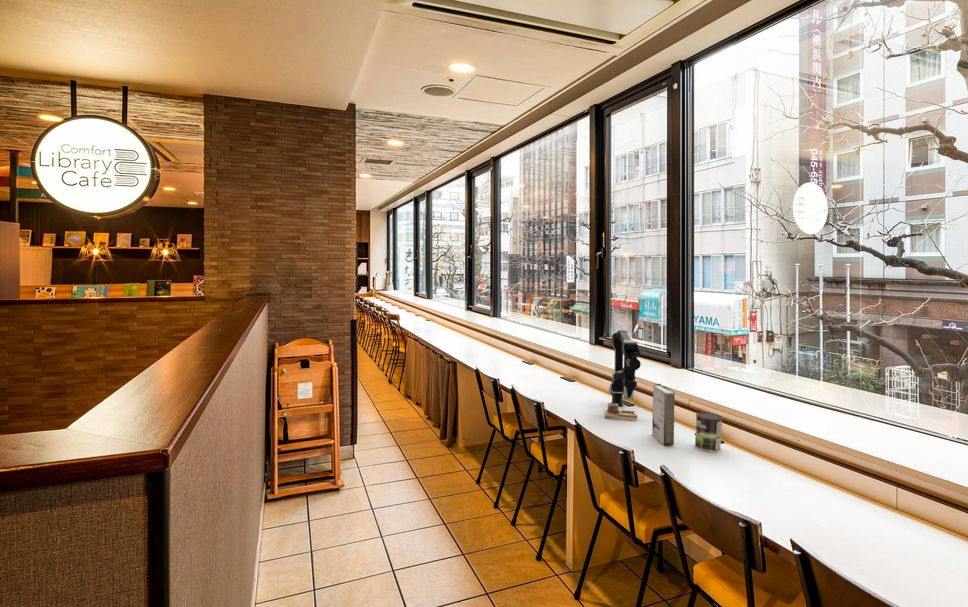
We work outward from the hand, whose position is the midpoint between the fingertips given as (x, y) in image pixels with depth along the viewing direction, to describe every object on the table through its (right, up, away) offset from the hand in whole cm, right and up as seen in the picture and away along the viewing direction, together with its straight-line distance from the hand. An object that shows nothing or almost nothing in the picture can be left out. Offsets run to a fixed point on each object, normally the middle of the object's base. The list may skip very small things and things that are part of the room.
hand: (628, 396), depth 263 cm
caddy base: (-4, -11, +1) cm, 12 cm away
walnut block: (-8, -10, +2) cm, 12 cm away
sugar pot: (0, -1, 0) cm, 1 cm away
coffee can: (+22, -15, -43) cm, 51 cm away
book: (+6, -14, -34) cm, 37 cm away
